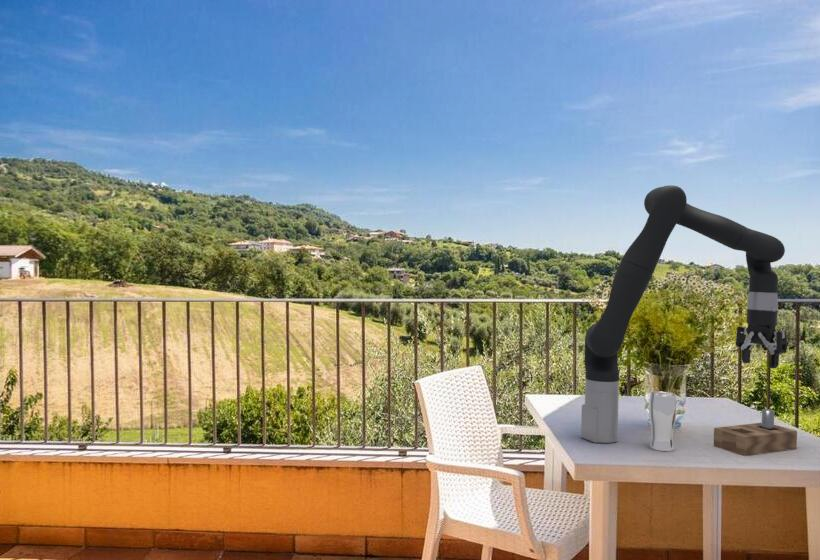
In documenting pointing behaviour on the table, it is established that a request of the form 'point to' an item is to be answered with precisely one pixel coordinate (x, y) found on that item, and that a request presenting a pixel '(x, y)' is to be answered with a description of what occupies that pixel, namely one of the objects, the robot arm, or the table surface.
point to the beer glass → (662, 420)
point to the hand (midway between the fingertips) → (759, 365)
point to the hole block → (754, 439)
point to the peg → (767, 419)
